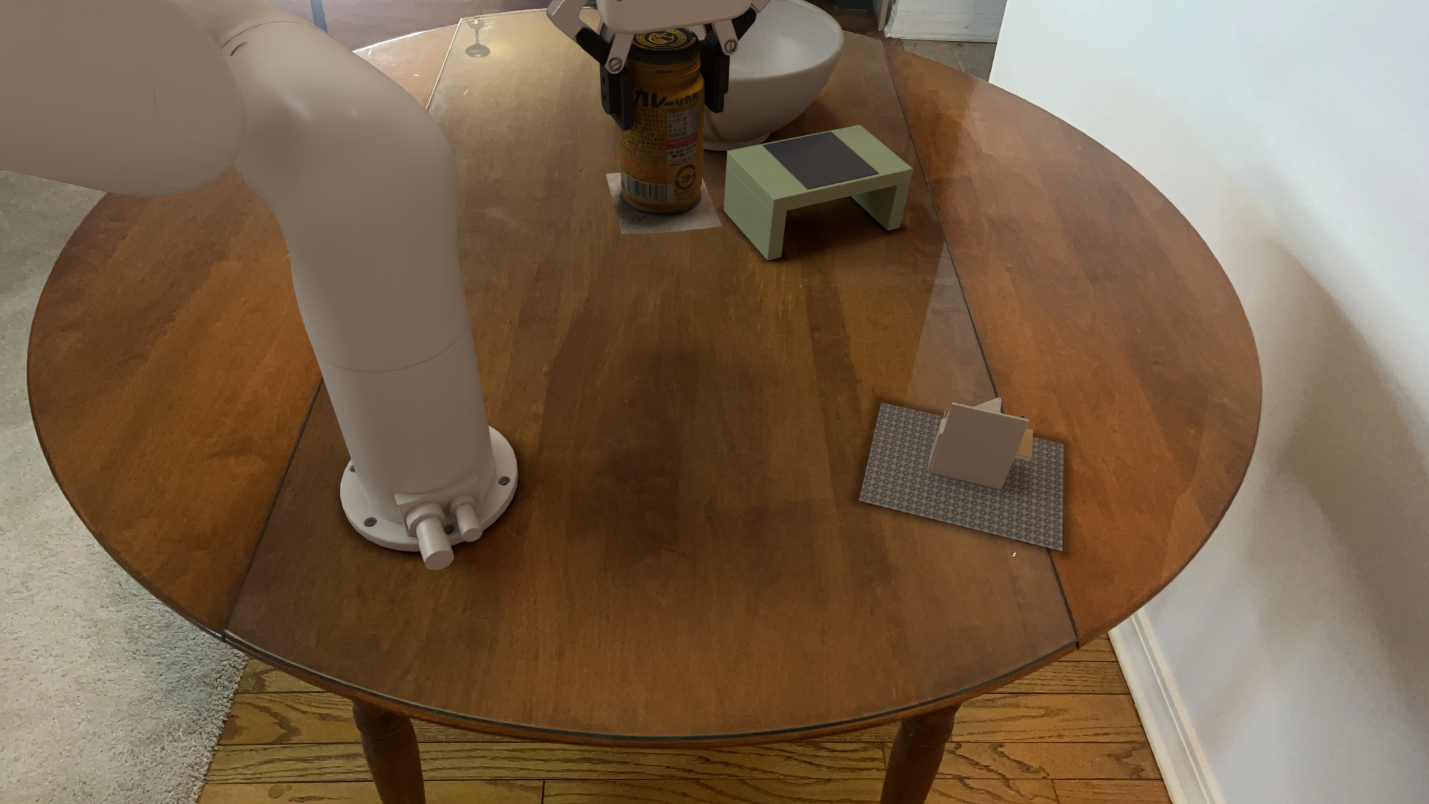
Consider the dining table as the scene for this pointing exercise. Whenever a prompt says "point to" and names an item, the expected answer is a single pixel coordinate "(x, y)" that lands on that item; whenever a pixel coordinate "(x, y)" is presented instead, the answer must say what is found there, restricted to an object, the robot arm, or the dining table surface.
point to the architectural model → (968, 471)
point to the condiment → (663, 139)
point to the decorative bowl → (774, 73)
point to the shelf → (812, 181)
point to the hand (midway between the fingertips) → (665, 110)
